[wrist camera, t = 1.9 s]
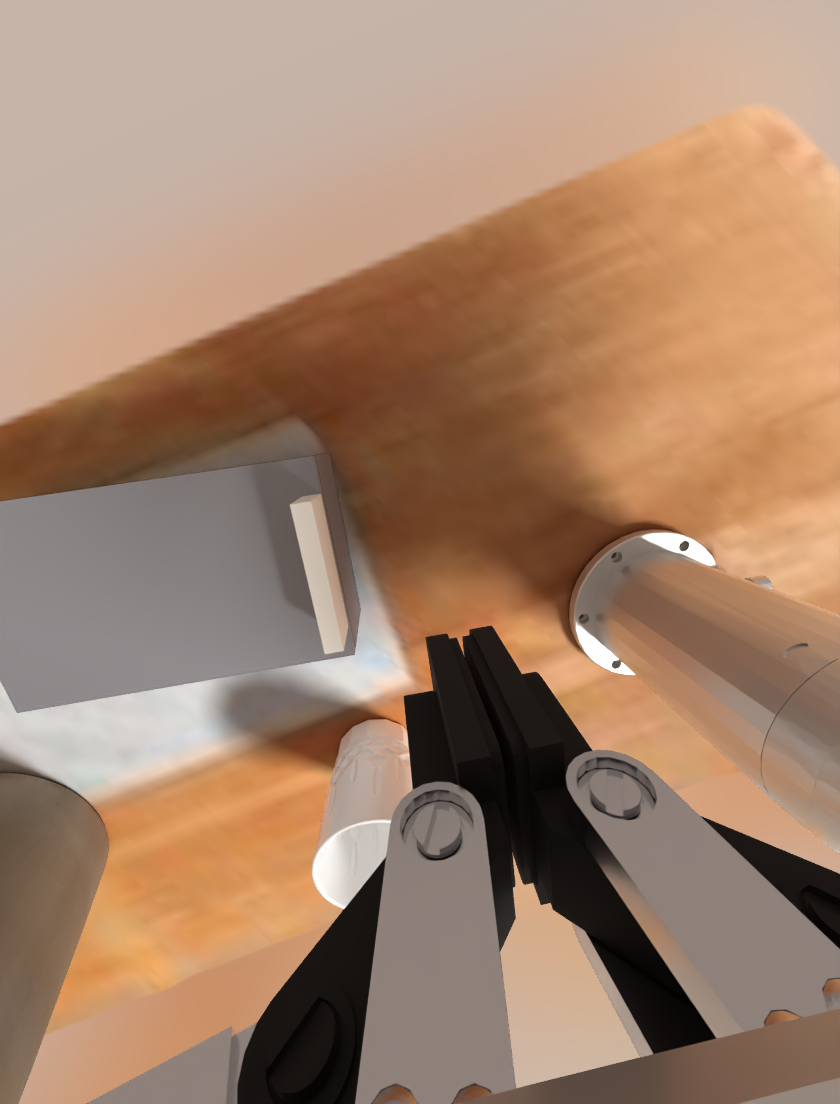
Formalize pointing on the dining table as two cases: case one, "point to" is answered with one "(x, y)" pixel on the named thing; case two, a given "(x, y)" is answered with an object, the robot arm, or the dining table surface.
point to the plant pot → (40, 909)
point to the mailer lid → (167, 583)
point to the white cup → (360, 807)
